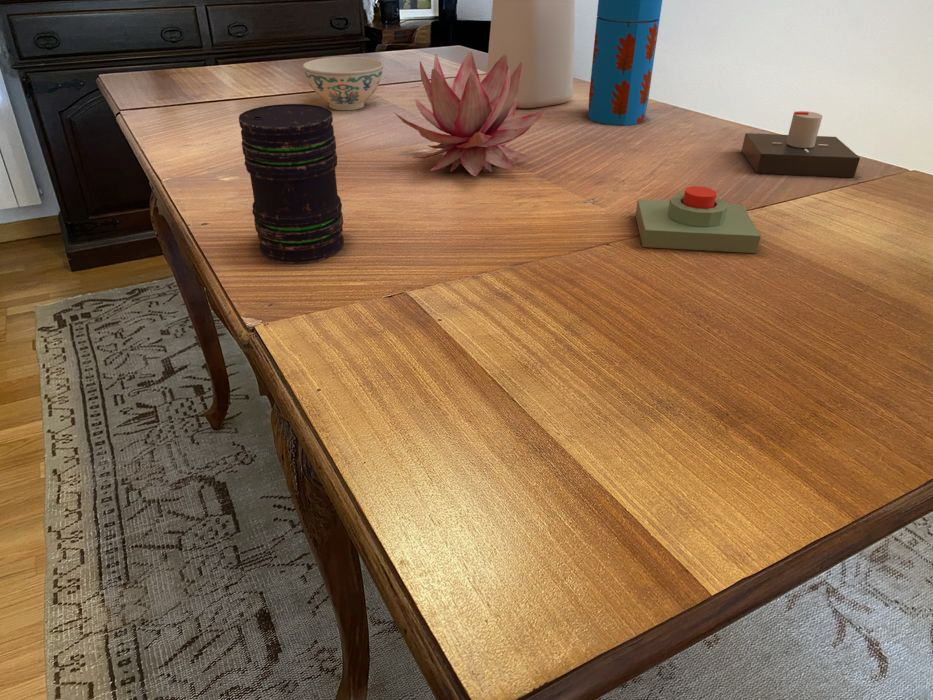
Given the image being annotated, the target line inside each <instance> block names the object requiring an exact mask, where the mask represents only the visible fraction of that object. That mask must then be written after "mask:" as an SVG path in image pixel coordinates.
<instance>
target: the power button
mask: <svg viewBox="0 0 933 700" xmlns="http://www.w3.org/2000/svg"><path fill="white" fill-rule="evenodd" d="M683 193H684V199H683V204H684V205H686V206H688V207H692V208H697V209H709V208H713V207H714V203H715V198H716V197H717V191H716V190H714V189H713V188H710V187H706V186H701V185H699V186H698V185H694V186H688V187H686V188H685V189H684V192H683Z"/></svg>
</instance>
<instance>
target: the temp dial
mask: <svg viewBox="0 0 933 700" xmlns="http://www.w3.org/2000/svg"><path fill="white" fill-rule="evenodd" d="M822 120H823V115H822V114H820V113H819V112H814V111H809V110H808V111H807V110H799V111H794V112H793V115H792V118H791V122H790V126H789V131H788V134H787V135H788V138H787V142H786V143H787V144H788V145H790V146H793V147H797V148H812V147H814V145H815V142H816V138H817V136H818V134H819V130H820V127H821V123H822Z"/></svg>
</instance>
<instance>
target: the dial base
mask: <svg viewBox="0 0 933 700" xmlns="http://www.w3.org/2000/svg"><path fill="white" fill-rule="evenodd" d="M787 138H788V134H776V133H775V134H774V133H754V132H753V133H750V132H748V133H747V132H746V133H745V134H744V137H743V143H742V147H741V153H742V155H743V157H745V159H746V161H748V163H749V165H750V166H751V167H752V169H753V170H754V172H755V173H756V174H765V175H784V176H785V175H787V176H806V177H807V176H809V177H810V176H811V177H828V178H829V177H830V178H831V177H832V178H855V176H856V173H857V169H858V166H859V163H860V160H861V157H860V156H859V155H857V154H856V153H855V151H853V150H852V149H851V148H849V146H847V145H846V144H845V143H844V142H843V141H842V140H841V139H839V138H838V137H837V136H828V135H827V136H824V135H817V138H816V142H815V145H814V147H812V148H797V147H793V146H790V145H788V144H787V143H786V142H787Z"/></svg>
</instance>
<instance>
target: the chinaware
mask: <svg viewBox="0 0 933 700" xmlns="http://www.w3.org/2000/svg"><path fill="white" fill-rule="evenodd" d="M302 68H303V70H304V74H305V78H306V79H307V81H308V83H309V85H310V87H311V88H312V90H313V91H314V92H315V93H316V95H318V96H319V97H320V98H321V99H322V100H324V101H325V102H327V103H328V105H329V106H328V107H329V108H330V109H332V110H337V111H354V110H359V109H362V108H364V106H365V101H367V100H368V99H369V98H370V97H371V96H373V94H374V93H375V92H376V90H377V88H378V87H379V85H380V82H381V79H382V76H383V71H384V63H383V62H382V61H381V60H378V59H375V58H370V57H361V56H333V57H324V58H323V57H322V58H318V59H311V60H309V61H306V62H304V63H303V65H302Z"/></svg>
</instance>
